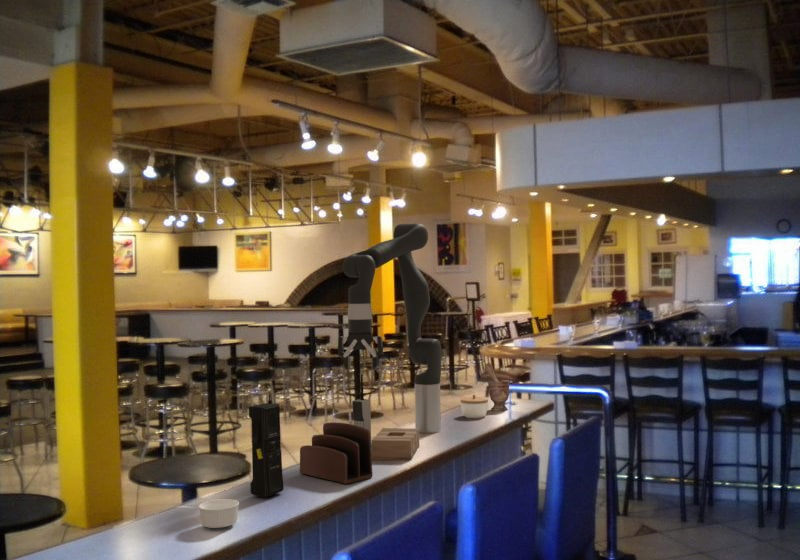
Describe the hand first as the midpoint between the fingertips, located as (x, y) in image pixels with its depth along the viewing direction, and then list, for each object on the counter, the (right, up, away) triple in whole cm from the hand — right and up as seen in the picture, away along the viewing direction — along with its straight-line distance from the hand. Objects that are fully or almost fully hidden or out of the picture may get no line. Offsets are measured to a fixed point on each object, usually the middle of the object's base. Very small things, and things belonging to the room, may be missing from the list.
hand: (360, 369), depth 247 cm
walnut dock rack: (+11, -26, -2) cm, 29 cm away
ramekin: (-28, -27, -72) cm, 81 cm away
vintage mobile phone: (0, -27, 0) cm, 27 cm away
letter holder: (-6, -27, -29) cm, 40 cm away
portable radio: (-22, -27, -48) cm, 59 cm away
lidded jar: (+42, -27, +59) cm, 77 cm away
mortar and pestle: (+52, -27, +74) cm, 94 cm away
